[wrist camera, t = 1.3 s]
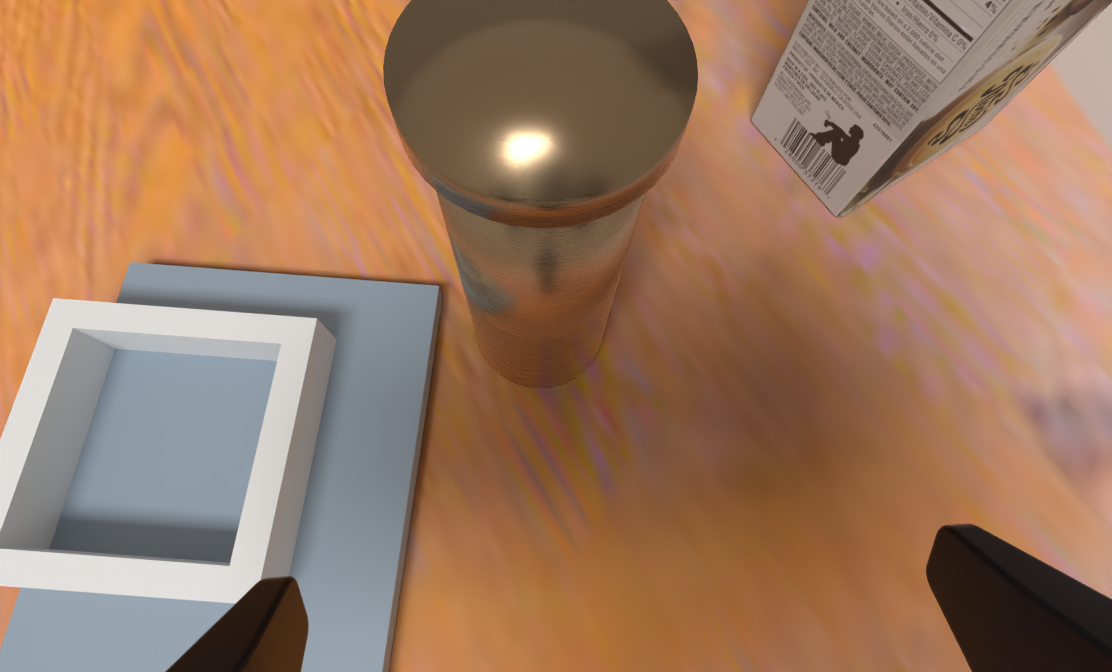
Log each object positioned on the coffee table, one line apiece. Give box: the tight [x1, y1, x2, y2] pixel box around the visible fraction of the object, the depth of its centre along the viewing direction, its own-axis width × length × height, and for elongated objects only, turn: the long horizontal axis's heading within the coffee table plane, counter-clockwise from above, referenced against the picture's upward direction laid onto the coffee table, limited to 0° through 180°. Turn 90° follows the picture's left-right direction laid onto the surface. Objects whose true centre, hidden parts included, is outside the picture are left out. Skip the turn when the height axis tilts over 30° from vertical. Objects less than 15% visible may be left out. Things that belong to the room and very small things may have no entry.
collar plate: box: [0, 262, 443, 672], centre depth 21 cm, size 16×12×3 cm
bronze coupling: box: [383, 0, 698, 388], centre depth 18 cm, size 6×6×14 cm
